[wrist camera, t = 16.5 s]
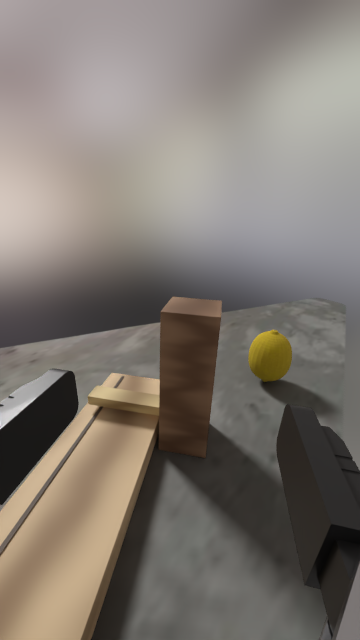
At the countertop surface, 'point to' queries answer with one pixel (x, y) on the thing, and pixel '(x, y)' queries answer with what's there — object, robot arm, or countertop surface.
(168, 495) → the countertop surface
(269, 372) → the lemon
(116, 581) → the countertop surface
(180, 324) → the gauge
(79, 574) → the board
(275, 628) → the countertop surface
